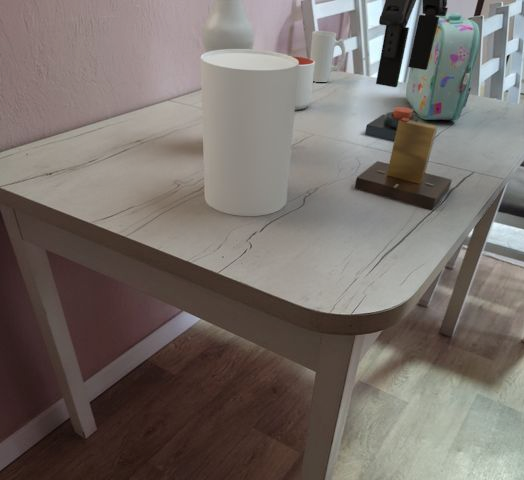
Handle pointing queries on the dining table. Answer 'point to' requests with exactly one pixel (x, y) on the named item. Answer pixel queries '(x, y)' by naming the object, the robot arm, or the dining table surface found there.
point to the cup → (304, 82)
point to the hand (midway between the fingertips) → (402, 76)
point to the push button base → (385, 126)
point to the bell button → (402, 112)
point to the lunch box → (445, 70)
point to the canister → (247, 129)
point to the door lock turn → (411, 150)
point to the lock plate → (403, 186)
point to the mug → (325, 54)
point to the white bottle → (227, 27)
